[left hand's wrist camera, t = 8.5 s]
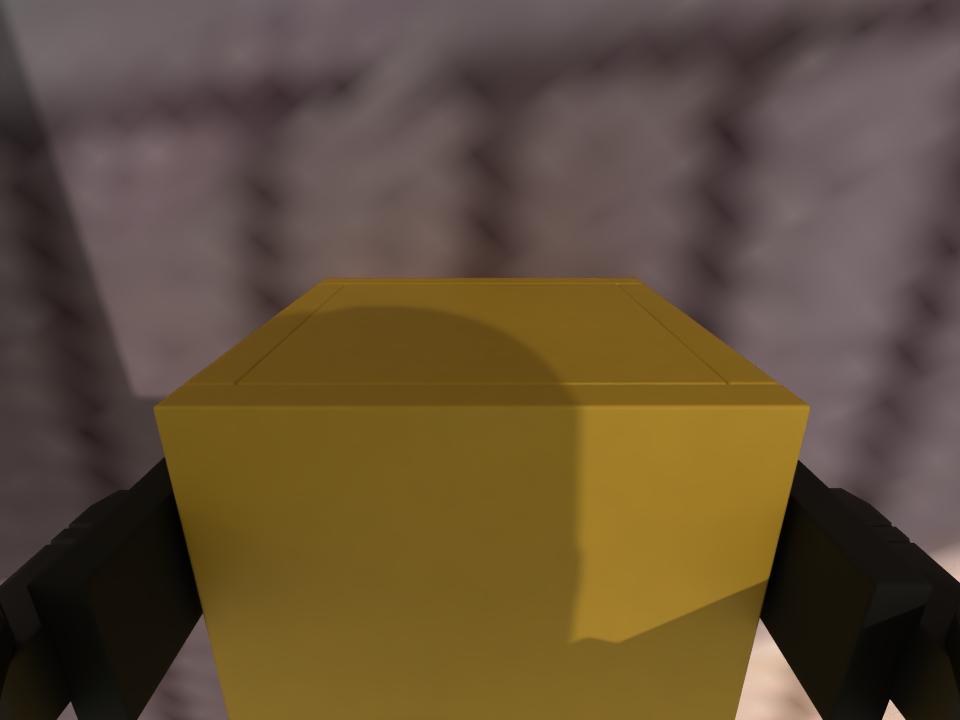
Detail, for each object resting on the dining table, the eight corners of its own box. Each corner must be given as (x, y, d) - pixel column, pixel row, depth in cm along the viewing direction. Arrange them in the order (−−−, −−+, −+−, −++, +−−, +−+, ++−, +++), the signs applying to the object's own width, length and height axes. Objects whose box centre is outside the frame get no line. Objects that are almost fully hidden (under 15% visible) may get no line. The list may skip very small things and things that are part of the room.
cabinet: (595, 673, 23) (668, 995, 14) (366, 672, 23) (295, 995, 14) (637, 277, 17) (812, 405, 8) (324, 277, 17) (151, 406, 8)
